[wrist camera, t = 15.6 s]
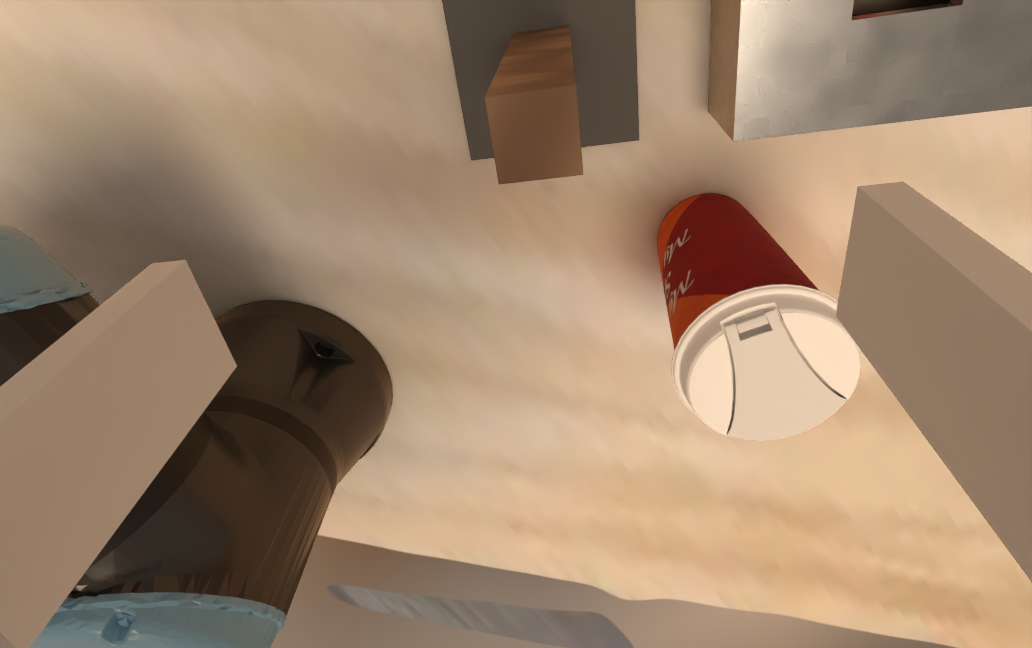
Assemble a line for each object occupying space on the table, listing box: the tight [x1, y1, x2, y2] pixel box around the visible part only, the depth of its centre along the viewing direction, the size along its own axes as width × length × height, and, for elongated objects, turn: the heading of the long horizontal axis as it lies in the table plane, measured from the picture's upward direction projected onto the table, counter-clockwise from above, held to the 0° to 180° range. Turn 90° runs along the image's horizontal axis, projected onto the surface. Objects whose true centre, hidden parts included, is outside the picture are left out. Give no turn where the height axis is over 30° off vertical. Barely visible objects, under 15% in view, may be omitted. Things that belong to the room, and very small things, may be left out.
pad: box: [442, 0, 639, 160], centre depth 33 cm, size 10×10×1 cm
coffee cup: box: [657, 194, 861, 441], centre depth 32 cm, size 8×8×15 cm
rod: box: [485, 25, 583, 184], centre depth 27 cm, size 3×3×15 cm
